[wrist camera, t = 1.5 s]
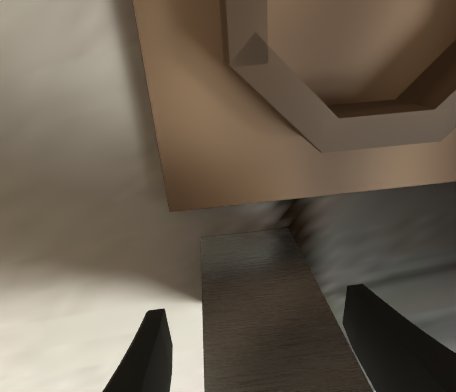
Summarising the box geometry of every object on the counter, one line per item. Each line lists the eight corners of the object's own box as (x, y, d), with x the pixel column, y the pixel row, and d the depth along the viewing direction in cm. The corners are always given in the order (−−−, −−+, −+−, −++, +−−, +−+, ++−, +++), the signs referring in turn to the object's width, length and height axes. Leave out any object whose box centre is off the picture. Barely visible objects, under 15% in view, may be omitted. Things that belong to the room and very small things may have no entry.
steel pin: (288, 227, 14) (385, 416, 7) (287, 294, 16) (363, 501, 9) (200, 237, 14) (205, 443, 7) (209, 304, 16) (220, 523, 8)
